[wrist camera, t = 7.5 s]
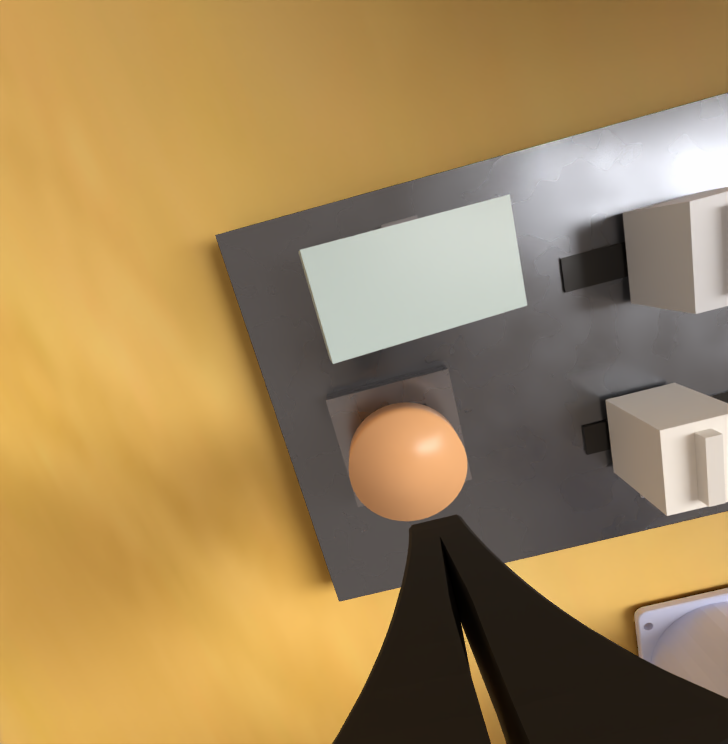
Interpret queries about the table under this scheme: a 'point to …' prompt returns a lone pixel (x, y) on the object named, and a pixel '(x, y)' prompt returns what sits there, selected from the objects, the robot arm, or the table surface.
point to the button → (406, 462)
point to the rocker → (415, 278)
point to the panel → (497, 346)
